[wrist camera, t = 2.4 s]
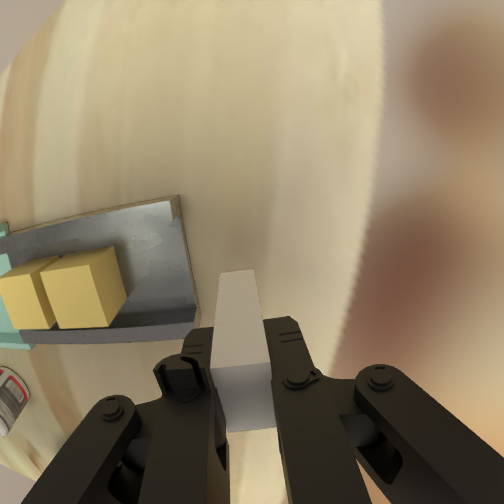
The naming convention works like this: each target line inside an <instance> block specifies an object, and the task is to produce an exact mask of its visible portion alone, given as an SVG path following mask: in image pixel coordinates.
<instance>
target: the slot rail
mask: <svg viewBox="0 0 504 504" xmlns="http://www.w3.org/2000/svg"><path fill="white" fill-rule="evenodd" d="M108 246H114V250H115V254H116V258H117V262H118V266H119V270H120V274H121V278H122V281H123V285H124V289H125V292H126V295H127V300H126V301H125V303H124V304H123V306H122V307H121V309H120V310H119V312H118V313H117V314H116V316H115V317H114V319H113V320H112V322H111V323H110V325H109V327H90V328H65V329H60V328H59V325H58V323H57V321H56V322H55V324H54V325H53V326H52V327H51V328H50V329H20V330H19V333H20V336H21V338H22V340H23V342H24V343H33V344H102V343H128V342H146V341H160V340H173V339H185V337H186V335H187V334H188V333H189V332H190V331H191V330H192V329H197V328H199V326H200V320H201V312H200V308H199V303H198V299H197V294H196V289H195V284H194V279H193V274H192V269H191V264H190V259H189V254H188V248H187V243H186V237H185V232H184V226H183V220H182V214H181V208H180V202H179V195H176V196H170V197H164V198H159V199H153V200H148V201H142V202H137V203H132V204H127V205H122V206H117V207H112V208H108V209H103V210H98V211H94V212H89V213H85V214H80V215H76V216H72V217H68V218H64V219H60V220H56V221H52V222H48V223H44V224H40V225H36V226H33V227H29V228H25V229H22V230H18V231H15V232H11V233H8V234H6V235H4V236H1V237H0V255H2V254H6V253H7V255H8V258H9V262H10V265H11V269H13V268H15V267H16V266H18V265H19V264H21V263H23V262H24V261H30V260H35V259H40V258H46V257H51V256H56V255H59V259H60V258H62V257H63V256H65V255H67V254H68V253H73V252H79V251H84V250H90V249H96V248H102V247H108Z"/></svg>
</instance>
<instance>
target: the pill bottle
mask: <svg viewBox="0 0 504 504" xmlns="http://www.w3.org/2000/svg"><path fill="white" fill-rule="evenodd" d="M29 397H30V395H29V391H28V389H27V387H26V385H25V384H24V382H23V381H22V380H21V379H20V377H19V376H18V375H17V374H15V373H14V372H13V371H11V370H10V369H8V368H5V367H0V437H5V436H6V435H7V434H8V433H9V431H10V429H11V428H12V426H13V424H14V423H15V421H16V419H17V418H18V416H19V414H20V413H21V411H22V410H23V408H24V406H25V405H26V403H27V401H28V400H29Z"/></svg>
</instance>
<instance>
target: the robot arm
mask: <svg viewBox="0 0 504 504" xmlns="http://www.w3.org/2000/svg"><path fill="white" fill-rule="evenodd" d="M153 372H154V374H155V377H156V379H157V382H158V384H159V387H160V389H161V391H162V397H161V398H159V399H157V400H154V401H151V402H147V403H142V404H138V405H135V404H134V403H133V402H132V400H131V399H130V398H128V397H126V396H123V395H113V396H108V397H106V398H104V399H102V400H100V401H99V402H97V403H96V404H95V405H94V406H93V408H92V409H91V410H90V411H89V413H88V414H87V415H86V417H85V418H84V419H83V420H82V422H81V423H80V424H79V426H78V427H77V428H76V430H75V431H74V432H73V433H72V435H71V436H70V437H69V439H68V440H67V441H66V443H65V444H64V445H63V447H62V448H61V449H60V451H59V452H58V453H57V455H56V456H55V457H54V459H53V460H52V461H51V463H50V464H49V465H48V467H47V468H46V469H45V471H44V472H43V473H42V475H41V476H40V478H39V479H38V480H37V482H36V483H35V484H34V486H33V487H32V489H31V490H30V491H29V493H28V494H27V496H26V497H25V498H24V500H23V501H22V503H21V504H230V473H229V445H228V441H227V438H226V427H227V430H228V432H238V431H249V430H258V429H266V428H273V427H277V432H278V441H279V450H280V454H281V460H282V466H283V472H284V478H285V484H286V490H287V496H288V502H289V504H372V502H371V499H370V497H369V494H368V491H367V488H366V485H365V483H364V480H363V478H362V475H361V472H360V469H359V466H358V464H357V461H356V459H357V460H358V462H359V463H360V464H361V466H362V467H363V468H364V470H365V471H366V472H367V474H368V475H369V476H370V477H371V479H372V480H373V481H374V482H375V484H376V485H377V486H378V488H379V489H380V490H381V491H382V493H383V494H384V495H385V496H386V498H387V499H388V500H389V501H390V503H391V504H504V458H503V457H502V456H501V455H500V454H499V453H498V452H496V451H495V450H494V449H493V448H492V447H491V446H489V445H488V444H487V443H486V442H485V441H483V440H482V439H481V438H480V437H479V436H477V435H476V434H475V433H474V432H473V431H472V430H470V429H469V428H468V427H467V426H466V425H464V424H463V423H462V422H461V421H460V420H459V419H457V418H456V417H455V416H454V415H453V414H451V413H450V412H449V411H448V410H447V409H445V408H444V407H443V406H442V405H441V404H439V403H438V402H437V401H436V400H435V399H434V398H432V397H431V396H430V395H429V394H428V393H426V392H425V391H424V390H423V389H422V388H420V387H419V386H418V385H417V384H415V382H413V381H412V380H411V379H410V378H408V377H407V376H406V375H405V374H404V373H402V372H401V371H400V370H398V369H397V368H395V367H393V366H389V365H385V364H376V365H372V366H368V367H366V368H364V369H363V370H362V371H360V372H359V374H358V375H357V376H356V379H334V378H330V377H327V376H325V375H323V374H322V373H321V371H320V370H319V369H317V368H315V366H314V364H313V362H312V359H311V356H310V354H309V351H308V349H307V346H306V343H305V341H304V339H303V336H302V333H301V330H300V328H299V325H298V323H297V322H296V321H295V320H294V319H292V318H291V317H290V316H286V317H279V318H272V319H265V320H262V314H261V309H260V303H259V298H258V293H257V287H256V282H255V276H254V271H253V269H249V270H242V271H234V272H226V273H220V276H219V285H218V294H217V303H216V312H215V322H214V327H207V328H197V329H192V330H191V331H190V332H189V333H188V334H187V335H186V337H185V339H184V343H183V348H182V351H181V354H176V355H171V356H169V357H167V358H164V359H163V360H161V361H160V362H159V363H158V364H157V365H156V366H155V368H154V369H153Z"/></svg>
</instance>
